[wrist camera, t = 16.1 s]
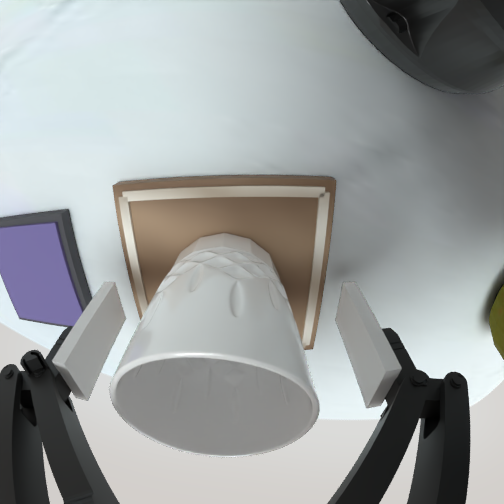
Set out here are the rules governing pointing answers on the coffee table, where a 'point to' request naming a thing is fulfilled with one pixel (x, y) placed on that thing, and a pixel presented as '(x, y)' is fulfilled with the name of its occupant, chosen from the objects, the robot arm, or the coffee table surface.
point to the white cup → (218, 357)
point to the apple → (498, 321)
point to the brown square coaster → (231, 230)
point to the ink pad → (43, 268)
